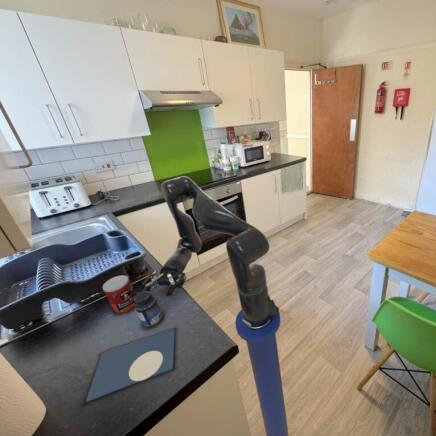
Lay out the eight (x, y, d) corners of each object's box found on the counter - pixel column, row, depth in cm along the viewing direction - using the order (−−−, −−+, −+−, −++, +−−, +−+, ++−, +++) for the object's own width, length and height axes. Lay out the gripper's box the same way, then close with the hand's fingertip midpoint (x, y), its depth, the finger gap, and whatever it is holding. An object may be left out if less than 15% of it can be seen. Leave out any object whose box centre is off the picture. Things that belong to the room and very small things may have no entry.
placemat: (175, 329, 77) (174, 328, 77) (173, 369, 65) (172, 368, 65) (102, 353, 71) (101, 352, 70) (86, 403, 59) (85, 402, 58)
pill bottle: (164, 311, 84) (154, 287, 79) (161, 324, 79) (151, 300, 74) (145, 316, 82) (134, 292, 78) (141, 330, 77) (129, 305, 72)
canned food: (121, 317, 83) (108, 293, 78) (110, 308, 87) (97, 285, 82) (143, 302, 88) (132, 279, 83) (132, 295, 92) (121, 272, 87)
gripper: (154, 259, 95) (130, 288, 81) (190, 257, 95) (172, 286, 80) (160, 274, 98) (138, 304, 84) (194, 272, 98) (178, 302, 84)
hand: (154, 295), depth 82 cm, fingers open, 8 cm apart
